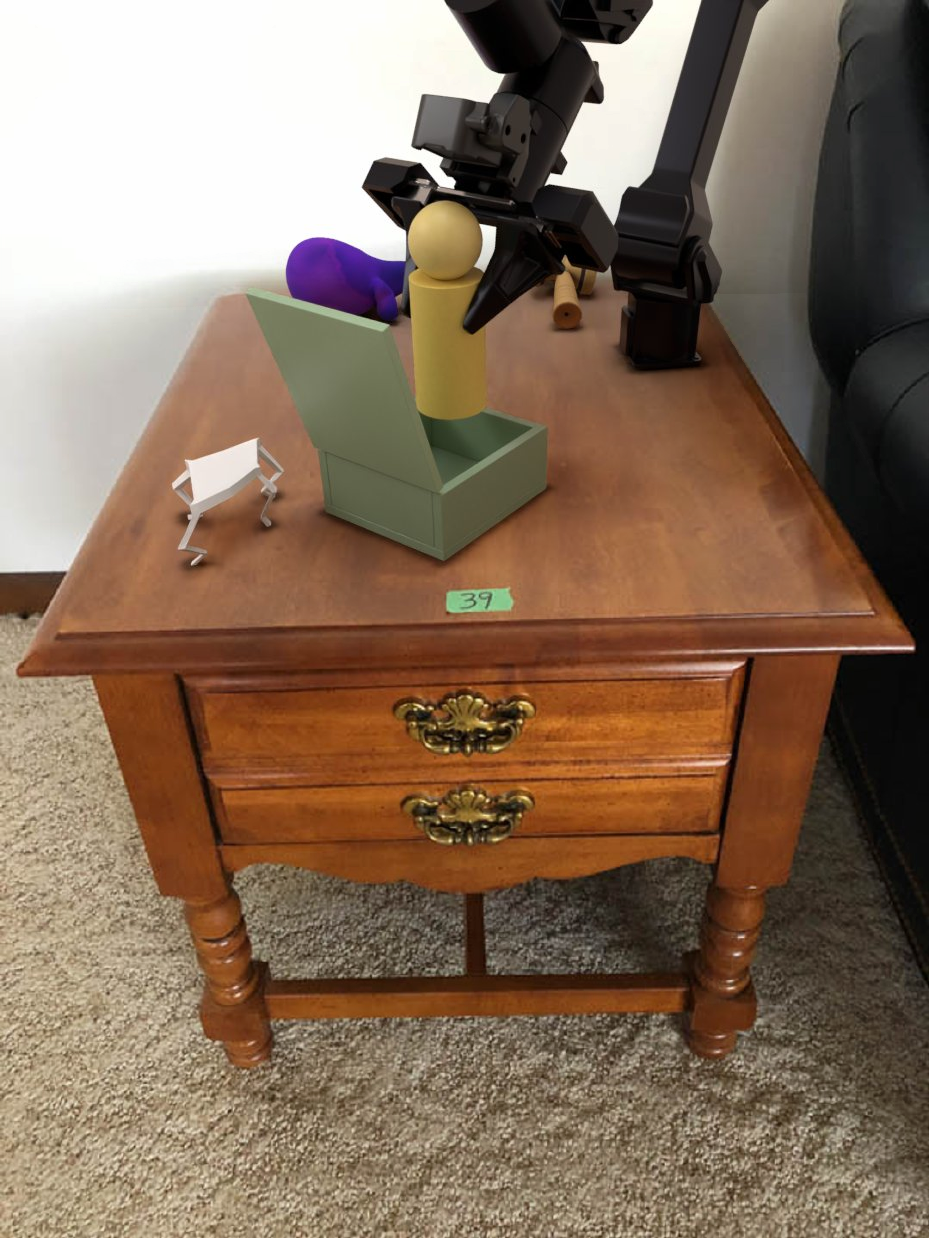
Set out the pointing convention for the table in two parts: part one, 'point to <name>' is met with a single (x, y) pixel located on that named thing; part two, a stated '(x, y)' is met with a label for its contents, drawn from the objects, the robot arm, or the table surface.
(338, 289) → the toy
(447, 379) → the toy figure
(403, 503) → the chest
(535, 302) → the table surface
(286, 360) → the chest lid
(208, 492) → the white legged piece
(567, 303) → the kendama
